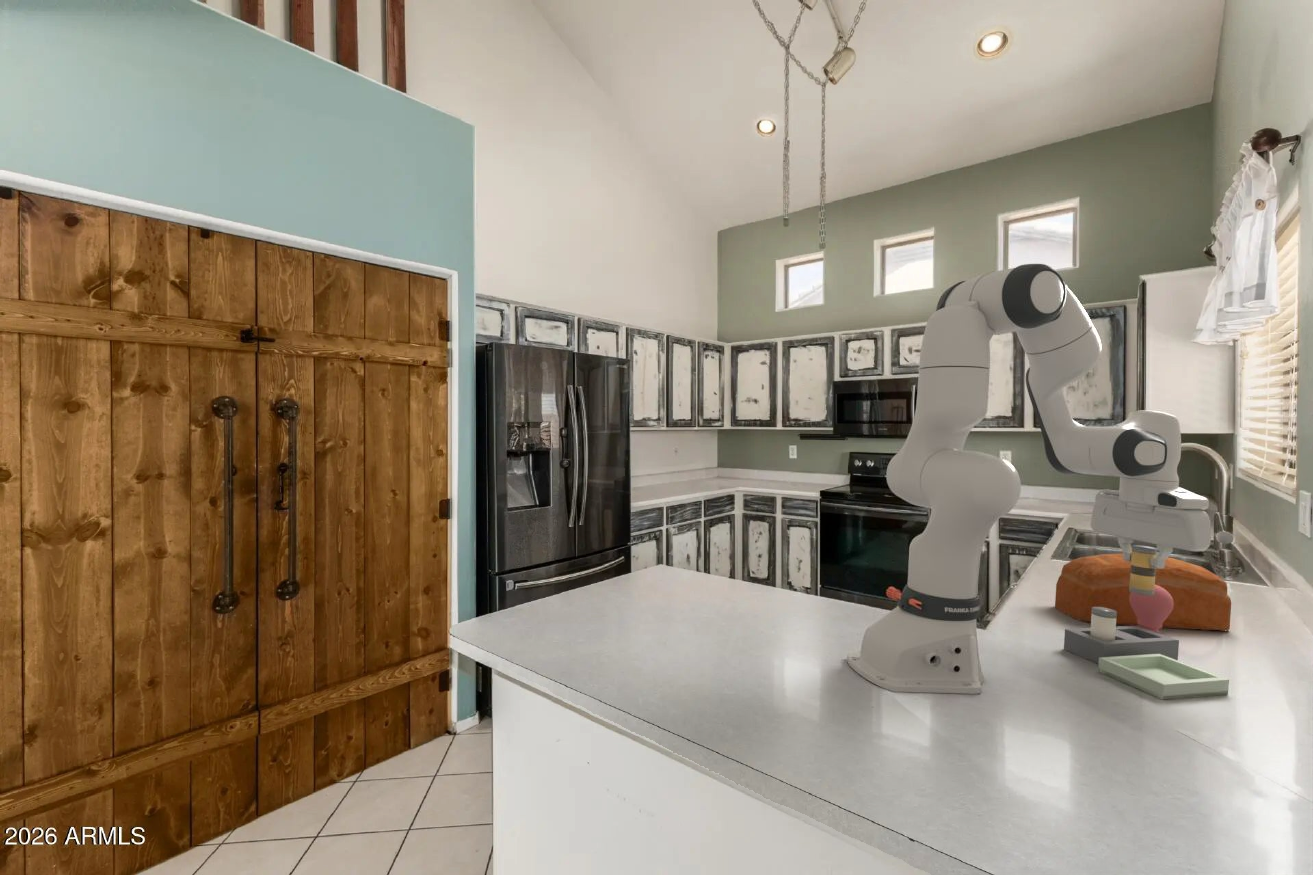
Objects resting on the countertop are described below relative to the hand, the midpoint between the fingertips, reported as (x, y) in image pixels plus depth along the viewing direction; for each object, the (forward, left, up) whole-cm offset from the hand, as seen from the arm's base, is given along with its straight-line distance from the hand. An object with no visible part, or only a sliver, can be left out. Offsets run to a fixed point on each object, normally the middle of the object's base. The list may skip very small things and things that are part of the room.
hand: (1143, 564), depth 115 cm
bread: (+24, +18, -18) cm, 35 cm away
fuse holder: (-4, 0, -18) cm, 18 cm away
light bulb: (+10, +6, -18) cm, 21 cm away
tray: (-10, -11, -18) cm, 23 cm away
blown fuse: (0, 0, -6) cm, 6 cm away
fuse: (-9, 0, -18) cm, 20 cm away
